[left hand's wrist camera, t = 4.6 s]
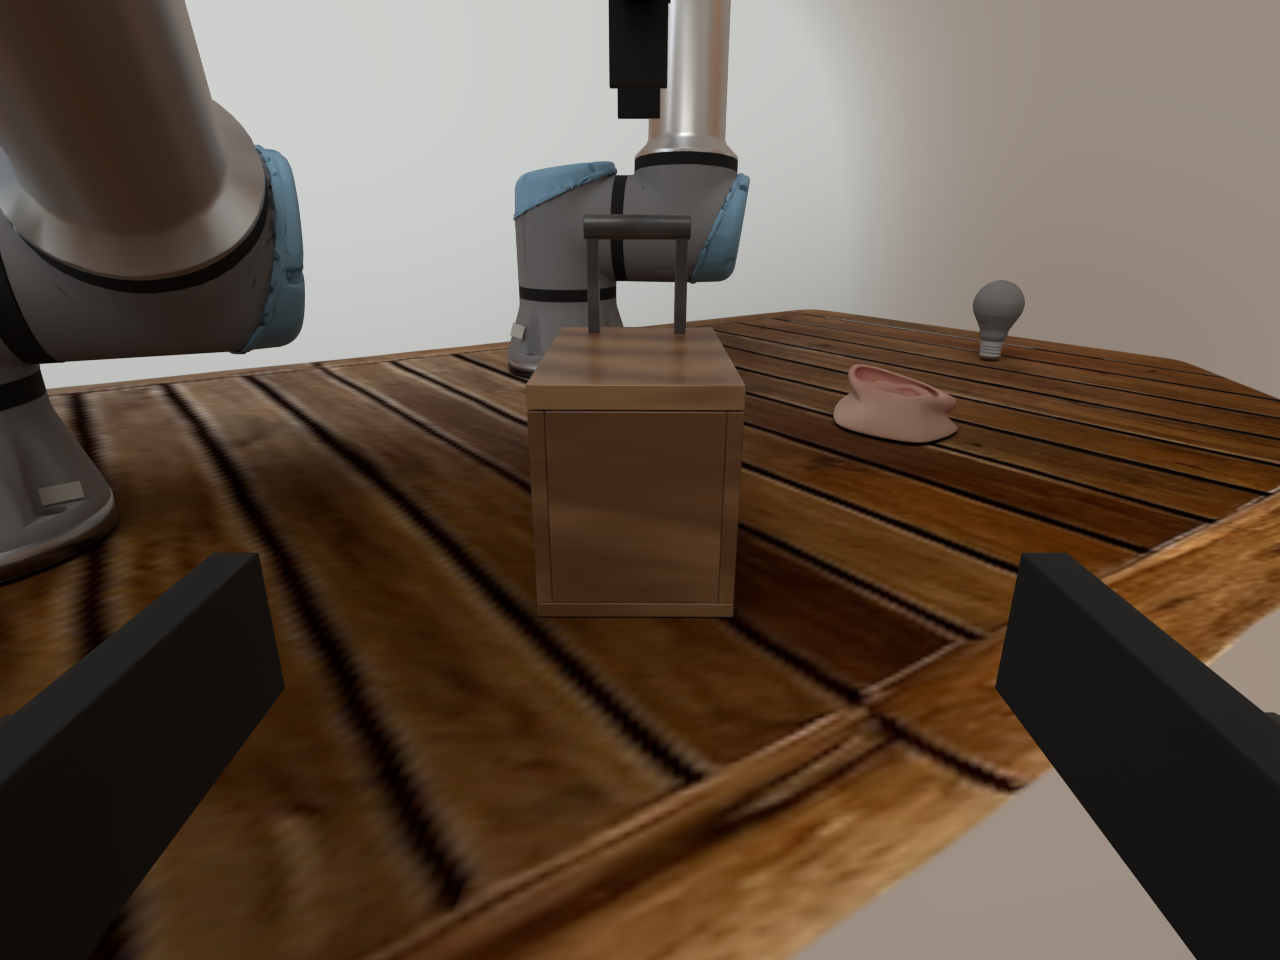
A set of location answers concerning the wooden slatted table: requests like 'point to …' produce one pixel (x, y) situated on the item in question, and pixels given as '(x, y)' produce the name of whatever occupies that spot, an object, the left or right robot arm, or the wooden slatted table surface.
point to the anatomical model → (894, 407)
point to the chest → (635, 511)
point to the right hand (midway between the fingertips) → (638, 106)
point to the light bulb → (997, 314)
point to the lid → (636, 343)
